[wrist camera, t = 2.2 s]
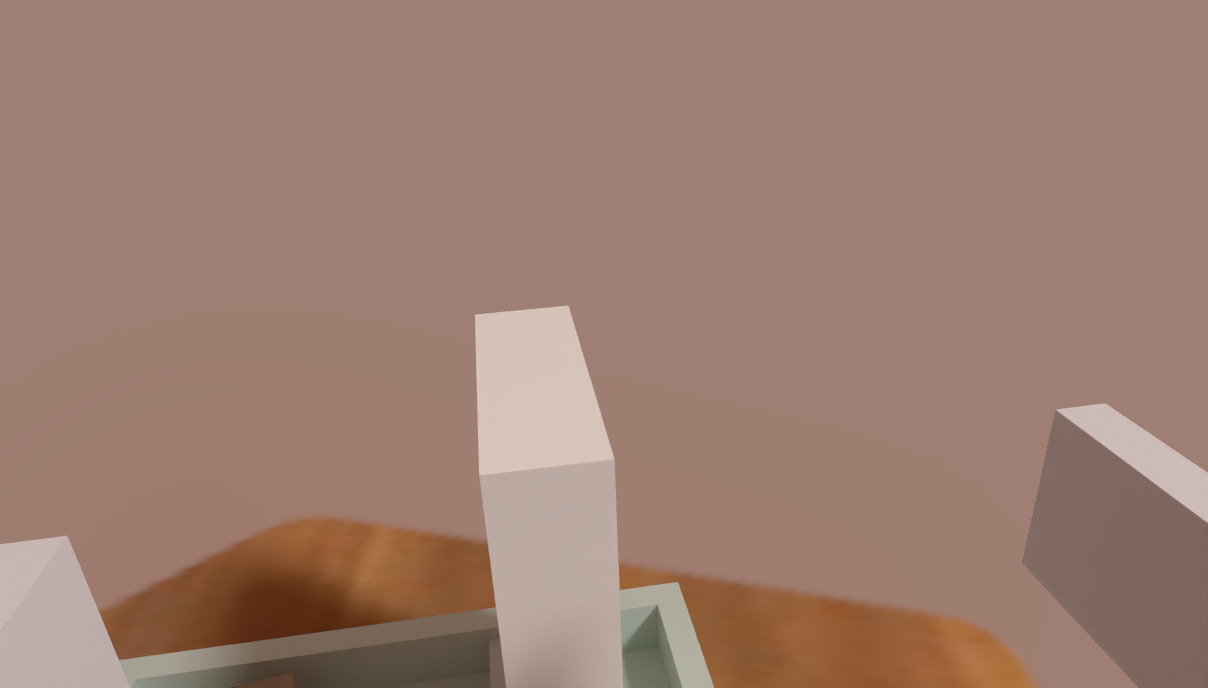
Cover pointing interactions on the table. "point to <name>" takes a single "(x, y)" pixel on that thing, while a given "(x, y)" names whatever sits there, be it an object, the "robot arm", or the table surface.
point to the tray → (432, 653)
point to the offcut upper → (273, 682)
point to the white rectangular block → (547, 503)
